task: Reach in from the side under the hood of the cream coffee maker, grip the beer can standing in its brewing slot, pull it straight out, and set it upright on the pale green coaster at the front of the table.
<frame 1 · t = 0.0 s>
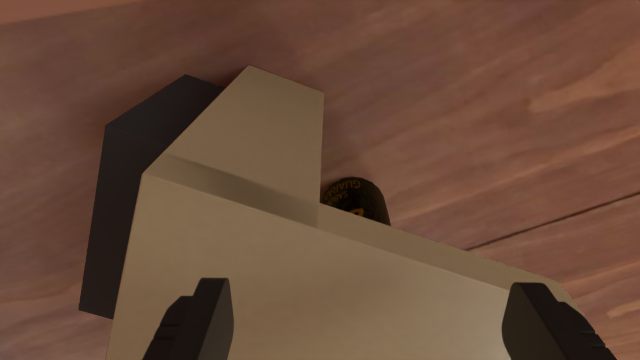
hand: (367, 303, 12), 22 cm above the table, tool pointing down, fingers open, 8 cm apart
coffee maker: (352, 202, 36), on the table
beer can: (352, 200, 36), on the table
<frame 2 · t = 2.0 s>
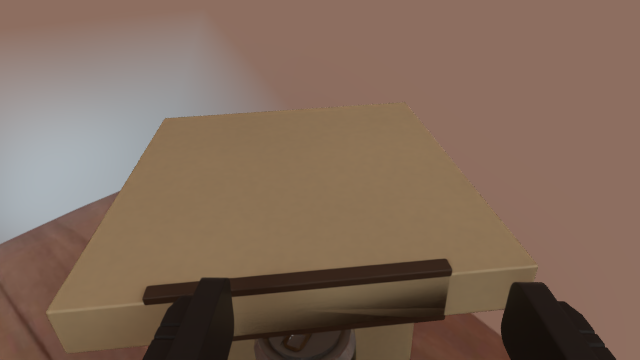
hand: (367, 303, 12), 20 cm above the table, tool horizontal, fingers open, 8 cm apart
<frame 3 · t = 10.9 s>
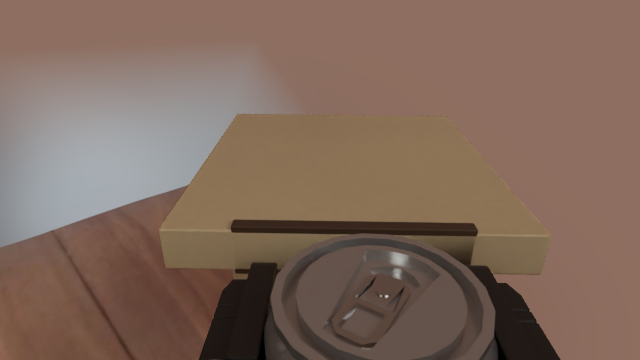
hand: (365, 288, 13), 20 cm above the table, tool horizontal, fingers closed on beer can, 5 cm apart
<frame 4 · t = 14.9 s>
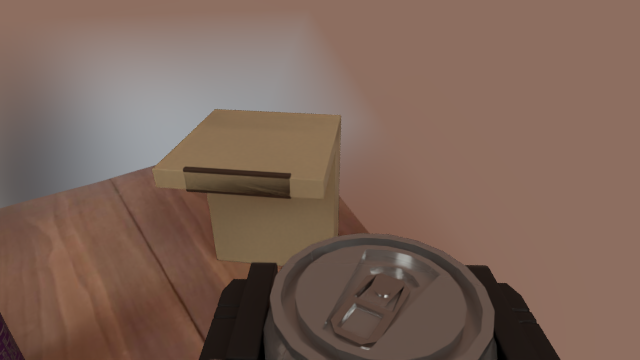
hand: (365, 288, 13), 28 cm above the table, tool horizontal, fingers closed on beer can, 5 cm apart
coffee maker: (263, 294, 51), on the table
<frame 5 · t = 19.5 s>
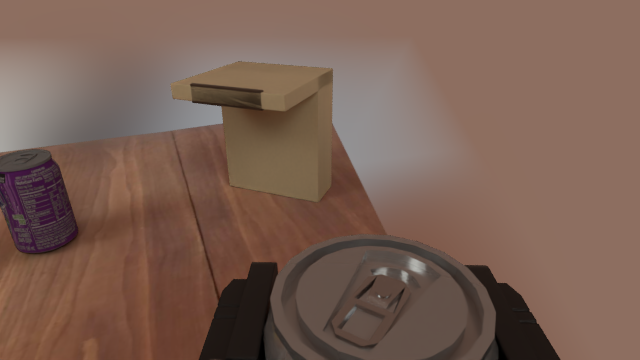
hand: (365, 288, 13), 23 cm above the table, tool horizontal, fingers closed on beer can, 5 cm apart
coffee maker: (255, 209, 63), on the table
beverage can: (49, 243, 55), on the table
when the fingers open (11 cm above the table, at t = 23.3 s): beer can stays where it is, resting on coaster.
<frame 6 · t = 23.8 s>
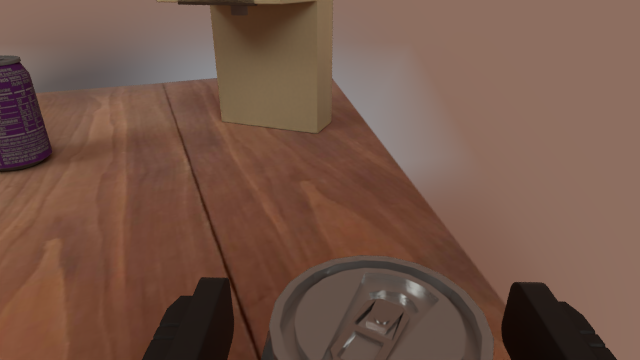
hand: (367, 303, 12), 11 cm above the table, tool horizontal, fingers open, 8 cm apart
coffee maker: (249, 139, 58), on the table
beverage can: (20, 164, 50), on the table
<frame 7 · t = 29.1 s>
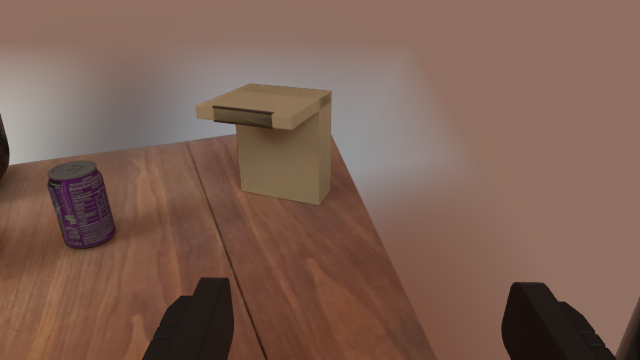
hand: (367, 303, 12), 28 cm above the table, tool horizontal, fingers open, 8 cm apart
coffee maker: (265, 212, 73), on the table
beverage can: (92, 239, 65), on the table
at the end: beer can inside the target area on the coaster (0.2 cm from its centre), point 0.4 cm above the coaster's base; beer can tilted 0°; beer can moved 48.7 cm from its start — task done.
